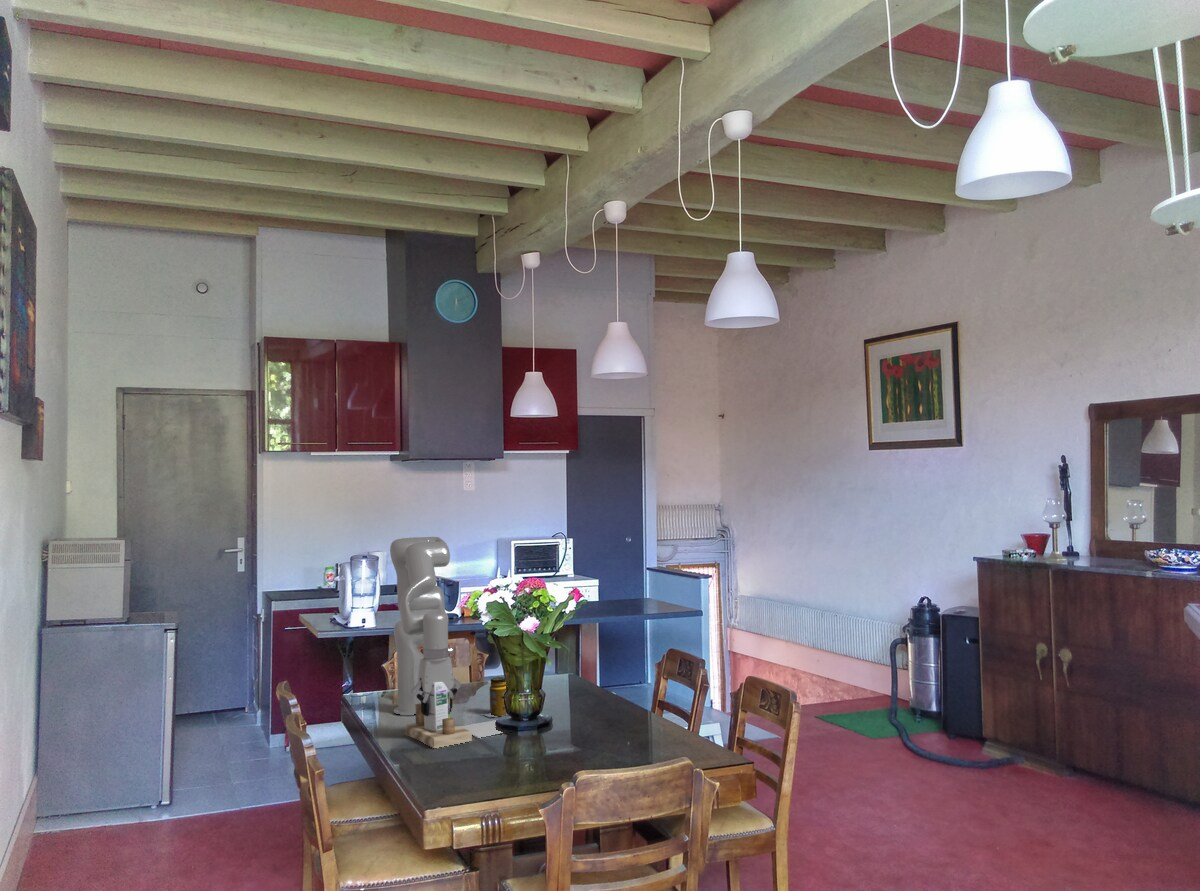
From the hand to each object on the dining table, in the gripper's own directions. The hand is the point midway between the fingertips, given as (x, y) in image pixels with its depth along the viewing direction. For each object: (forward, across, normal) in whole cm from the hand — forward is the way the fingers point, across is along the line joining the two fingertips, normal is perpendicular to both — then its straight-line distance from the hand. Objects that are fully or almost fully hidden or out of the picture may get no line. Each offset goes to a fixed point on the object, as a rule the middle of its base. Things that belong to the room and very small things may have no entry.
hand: (437, 712), depth 285 cm
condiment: (+8, -28, -15) cm, 33 cm away
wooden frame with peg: (+8, 0, +1) cm, 8 cm away
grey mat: (+8, -17, +2) cm, 18 cm away
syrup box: (+5, 0, 0) cm, 5 cm away
